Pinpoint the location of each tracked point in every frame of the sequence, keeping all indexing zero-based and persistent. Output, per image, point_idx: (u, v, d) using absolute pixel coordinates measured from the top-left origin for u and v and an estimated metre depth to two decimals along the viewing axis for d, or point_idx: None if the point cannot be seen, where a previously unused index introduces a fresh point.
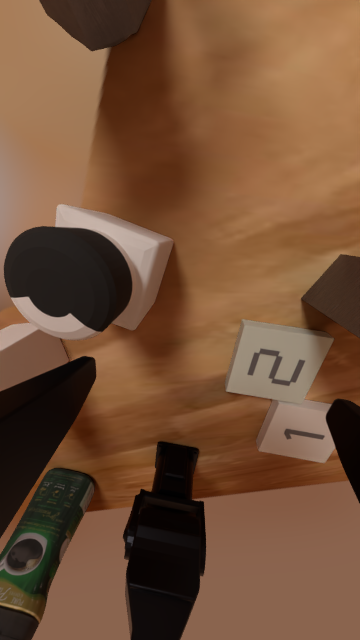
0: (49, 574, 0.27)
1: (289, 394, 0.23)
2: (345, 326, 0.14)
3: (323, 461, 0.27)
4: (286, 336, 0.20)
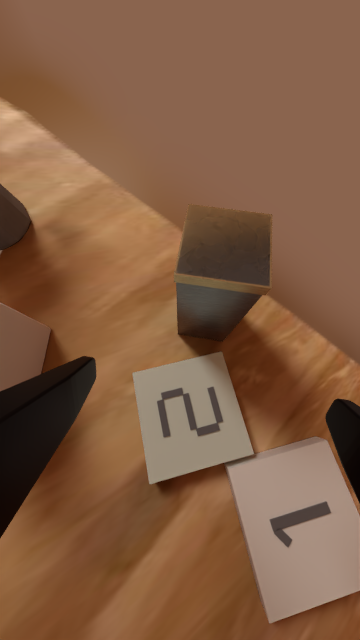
0: None
1: (229, 444, 0.17)
2: (177, 308, 0.16)
3: None
4: (178, 367, 0.19)
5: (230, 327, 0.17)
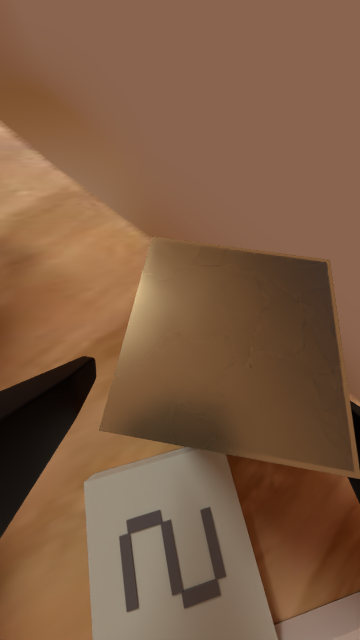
0: None
1: (237, 624, 0.10)
2: None
3: None
4: (156, 472, 0.12)
5: None
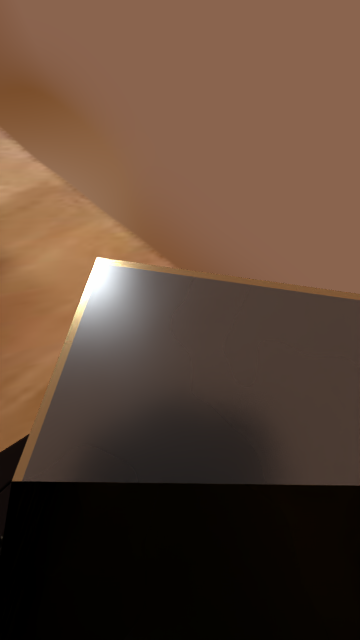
0: None
1: None
2: None
3: None
4: None
5: None
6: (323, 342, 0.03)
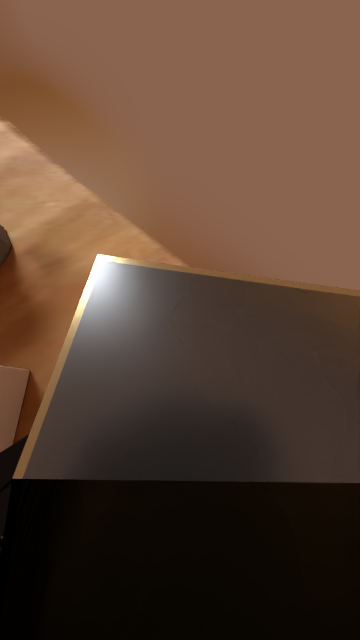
0: None
1: None
2: None
3: None
4: None
5: None
6: (323, 338, 0.03)
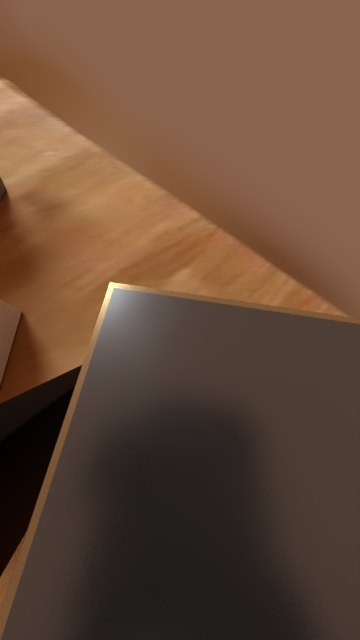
0: None
1: None
2: None
3: None
4: None
5: None
6: (294, 354, 0.03)
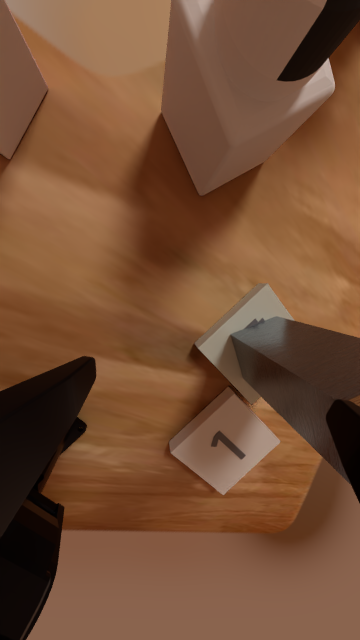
0: None
1: (249, 387, 0.21)
2: (277, 361, 0.12)
3: (223, 492, 0.23)
4: None
5: (271, 404, 0.15)
6: None
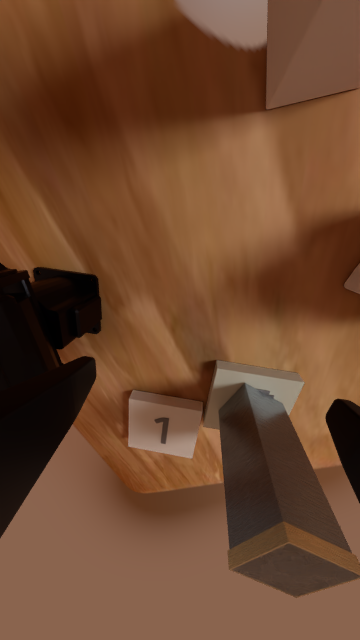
0: None
1: (215, 418, 0.24)
2: (263, 445, 0.15)
3: (130, 445, 0.28)
4: None
5: (223, 450, 0.19)
6: (309, 586, 0.12)
